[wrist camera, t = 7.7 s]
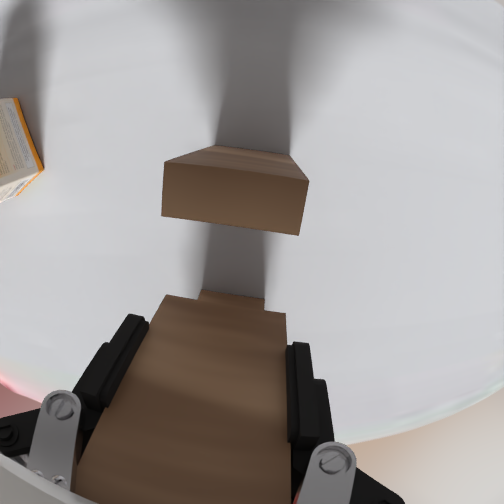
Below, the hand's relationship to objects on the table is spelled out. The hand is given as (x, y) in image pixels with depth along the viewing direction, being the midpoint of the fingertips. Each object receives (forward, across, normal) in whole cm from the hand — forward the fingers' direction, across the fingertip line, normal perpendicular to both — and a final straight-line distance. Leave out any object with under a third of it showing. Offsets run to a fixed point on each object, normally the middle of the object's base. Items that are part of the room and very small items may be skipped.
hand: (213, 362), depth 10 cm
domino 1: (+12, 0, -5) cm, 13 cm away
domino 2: (+2, 0, 0) cm, 2 cm away
